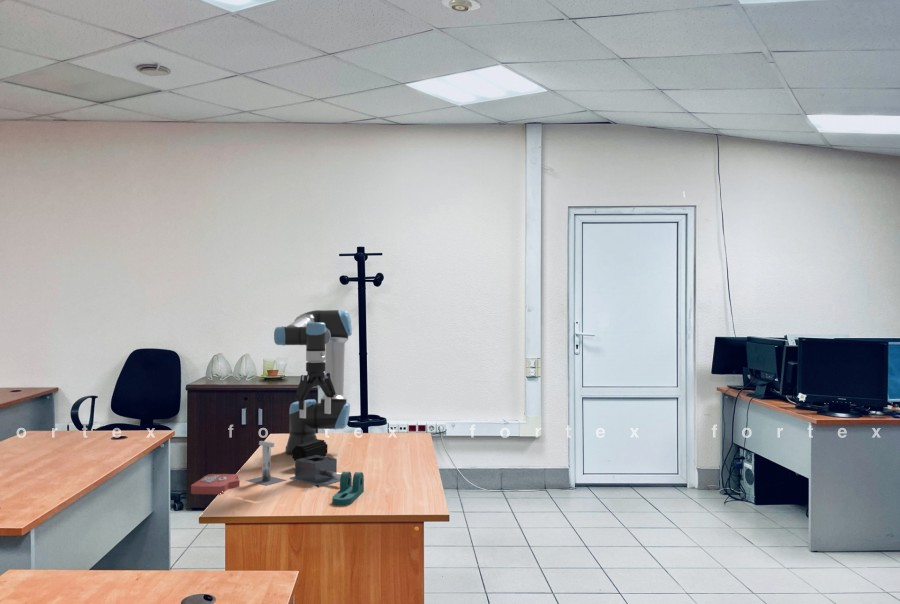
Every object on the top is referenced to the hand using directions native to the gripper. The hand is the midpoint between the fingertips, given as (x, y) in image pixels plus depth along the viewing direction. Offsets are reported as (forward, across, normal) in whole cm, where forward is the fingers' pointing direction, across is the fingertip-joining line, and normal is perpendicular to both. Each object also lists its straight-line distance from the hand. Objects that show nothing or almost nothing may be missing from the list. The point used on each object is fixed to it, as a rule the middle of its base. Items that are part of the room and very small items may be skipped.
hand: (315, 415), depth 275 cm
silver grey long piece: (+23, -18, +8) cm, 30 cm away
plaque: (+24, -33, +16) cm, 44 cm away
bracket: (+24, -17, -32) cm, 43 cm away
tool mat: (+23, -18, +8) cm, 30 cm away
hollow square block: (+23, -6, -9) cm, 26 cm away
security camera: (+23, +10, +12) cm, 28 cm away
